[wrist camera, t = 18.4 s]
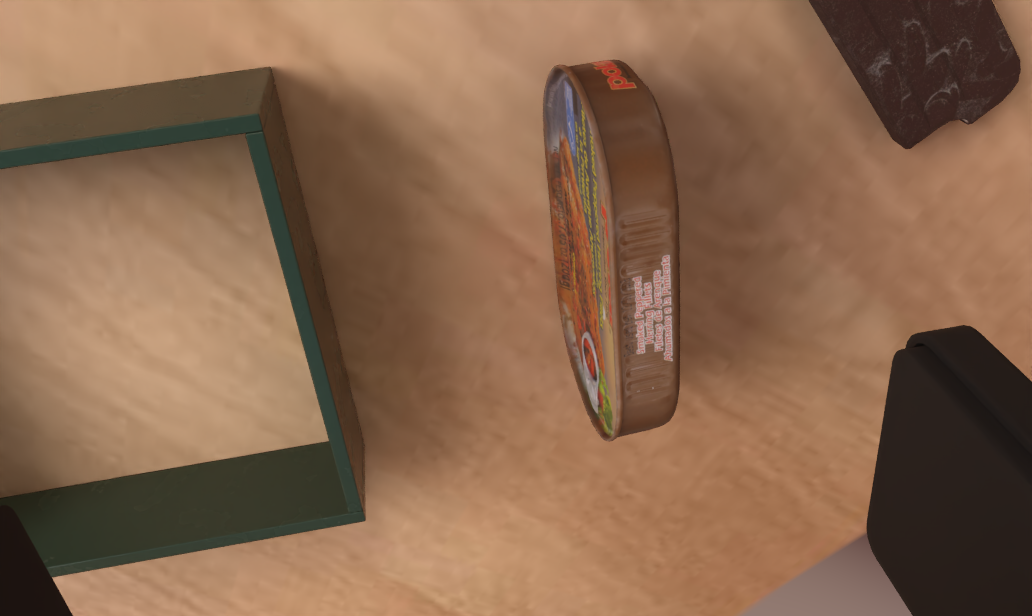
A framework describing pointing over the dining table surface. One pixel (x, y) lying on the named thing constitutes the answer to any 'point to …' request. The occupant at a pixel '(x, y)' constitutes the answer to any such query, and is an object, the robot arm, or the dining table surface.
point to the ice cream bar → (924, 59)
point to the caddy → (323, 466)
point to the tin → (614, 243)
